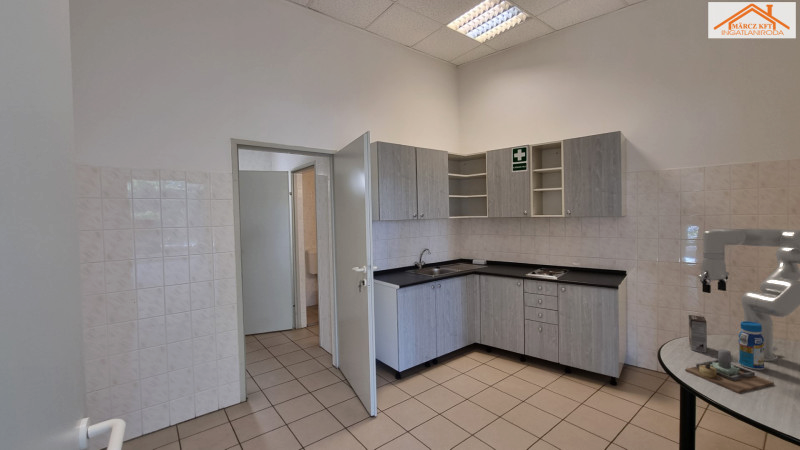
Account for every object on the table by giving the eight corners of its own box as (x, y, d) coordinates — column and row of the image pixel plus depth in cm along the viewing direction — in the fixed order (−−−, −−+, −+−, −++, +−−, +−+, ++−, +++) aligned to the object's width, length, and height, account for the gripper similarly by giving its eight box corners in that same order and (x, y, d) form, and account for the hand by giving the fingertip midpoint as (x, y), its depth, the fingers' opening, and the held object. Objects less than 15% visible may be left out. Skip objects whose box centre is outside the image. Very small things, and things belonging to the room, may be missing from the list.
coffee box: (688, 344, 183) (688, 314, 182) (704, 346, 179) (704, 316, 179) (690, 350, 176) (690, 319, 175) (707, 352, 172) (706, 321, 171)
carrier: (718, 364, 160) (718, 351, 159) (773, 384, 140) (773, 370, 140) (685, 370, 155) (685, 358, 155) (738, 393, 136) (738, 378, 135)
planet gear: (720, 364, 157) (720, 345, 156) (745, 374, 148) (745, 353, 147) (704, 368, 155) (704, 348, 154) (729, 377, 146) (728, 357, 145)
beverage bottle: (736, 360, 162) (736, 319, 161) (761, 364, 157) (761, 322, 157) (740, 367, 155) (740, 324, 155) (767, 372, 150) (767, 327, 150)
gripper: (718, 253, 168) (718, 288, 169) (691, 256, 164) (692, 291, 165) (736, 255, 161) (736, 291, 161) (708, 258, 157) (709, 295, 157)
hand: (714, 291), depth 163 cm, fingers open, 9 cm apart
